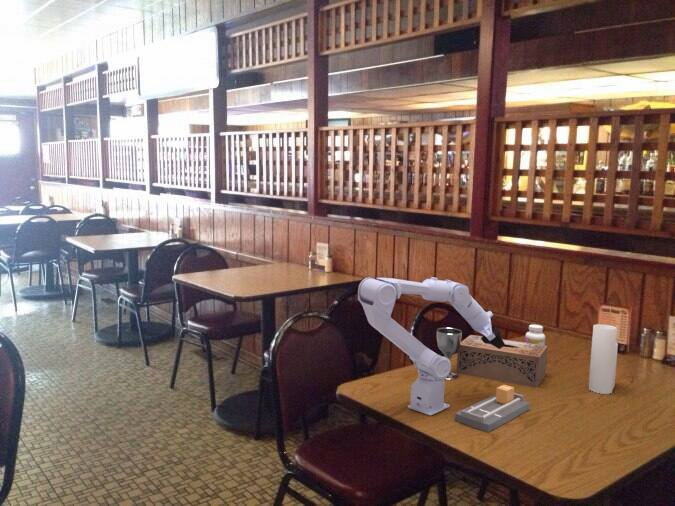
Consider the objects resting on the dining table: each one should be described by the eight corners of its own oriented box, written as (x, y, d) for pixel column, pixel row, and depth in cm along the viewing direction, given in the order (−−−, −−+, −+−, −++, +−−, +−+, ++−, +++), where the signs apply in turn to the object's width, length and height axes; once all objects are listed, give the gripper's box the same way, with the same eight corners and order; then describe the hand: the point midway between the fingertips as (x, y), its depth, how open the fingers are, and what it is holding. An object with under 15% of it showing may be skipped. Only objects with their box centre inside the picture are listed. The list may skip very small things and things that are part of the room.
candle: (611, 395, 174) (616, 330, 172) (585, 391, 178) (590, 327, 176) (615, 384, 184) (620, 323, 182) (590, 380, 188) (595, 319, 185)
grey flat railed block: (487, 432, 147) (488, 420, 147) (454, 420, 154) (454, 408, 154) (529, 409, 163) (530, 397, 163) (497, 399, 170) (498, 388, 169)
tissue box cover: (545, 375, 193) (547, 345, 192) (537, 388, 180) (539, 357, 179) (469, 362, 205) (470, 334, 204) (456, 373, 193) (457, 344, 192)
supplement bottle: (519, 359, 209) (521, 324, 207) (533, 357, 211) (536, 323, 210) (533, 365, 203) (535, 329, 201) (547, 363, 205) (550, 327, 204)
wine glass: (431, 377, 188) (433, 331, 186) (439, 370, 195) (441, 326, 193) (455, 381, 185) (457, 335, 183) (462, 374, 192) (464, 329, 190)
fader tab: (506, 404, 160) (507, 390, 159) (495, 401, 162) (496, 387, 162) (513, 400, 163) (514, 387, 162) (503, 397, 165) (503, 384, 164)
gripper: (492, 317, 159) (517, 345, 165) (474, 289, 172) (498, 316, 178) (471, 332, 160) (497, 359, 166) (455, 304, 173) (479, 330, 179)
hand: (496, 338), depth 172 cm, fingers open, 7 cm apart
